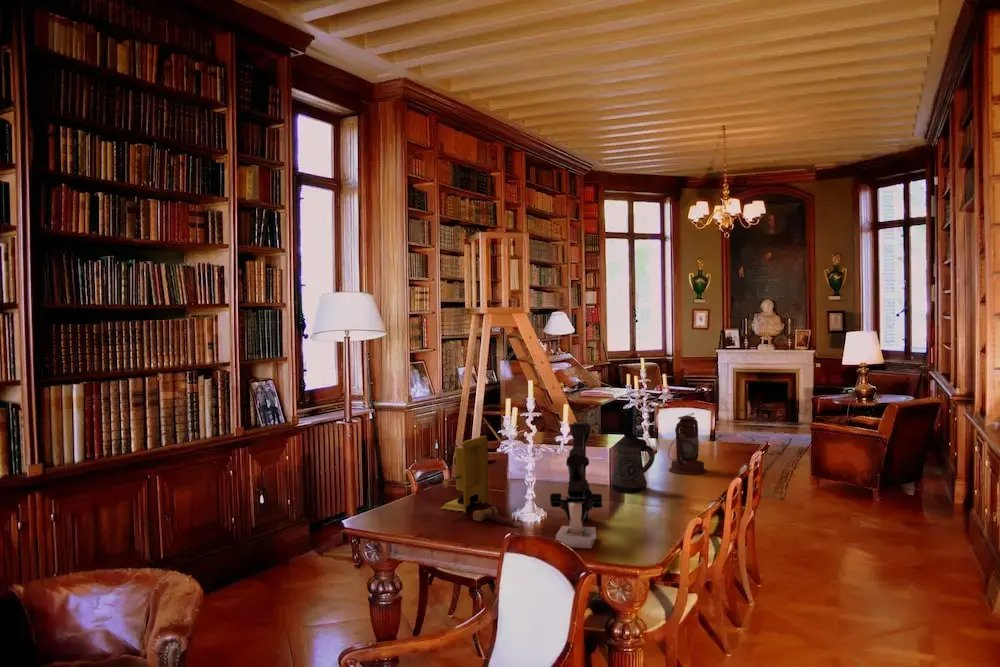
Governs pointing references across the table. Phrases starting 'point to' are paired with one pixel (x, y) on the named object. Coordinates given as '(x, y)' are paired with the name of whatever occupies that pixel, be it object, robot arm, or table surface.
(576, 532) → the white tall rounded piece
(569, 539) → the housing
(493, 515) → the gavel
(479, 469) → the olive upright panel stand
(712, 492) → the table surface
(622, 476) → the beer stein
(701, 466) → the lantern
